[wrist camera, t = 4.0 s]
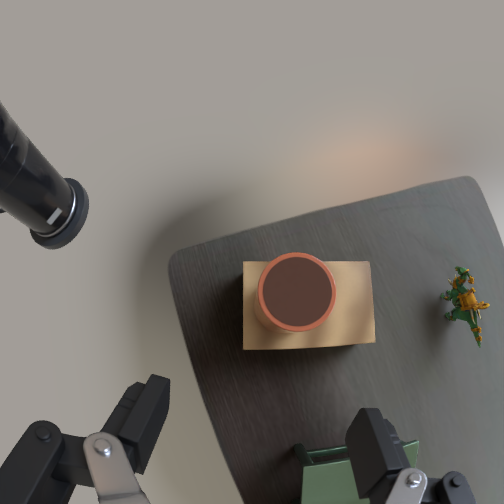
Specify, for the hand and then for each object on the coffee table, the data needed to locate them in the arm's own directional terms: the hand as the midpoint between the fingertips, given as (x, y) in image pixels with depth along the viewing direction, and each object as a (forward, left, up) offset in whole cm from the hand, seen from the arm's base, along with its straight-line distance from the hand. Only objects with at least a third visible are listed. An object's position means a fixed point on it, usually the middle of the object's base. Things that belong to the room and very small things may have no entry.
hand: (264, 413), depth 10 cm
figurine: (+29, +5, -22) cm, 37 cm away
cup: (+3, +7, -17) cm, 18 cm away
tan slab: (+6, +7, -22) cm, 24 cm away
